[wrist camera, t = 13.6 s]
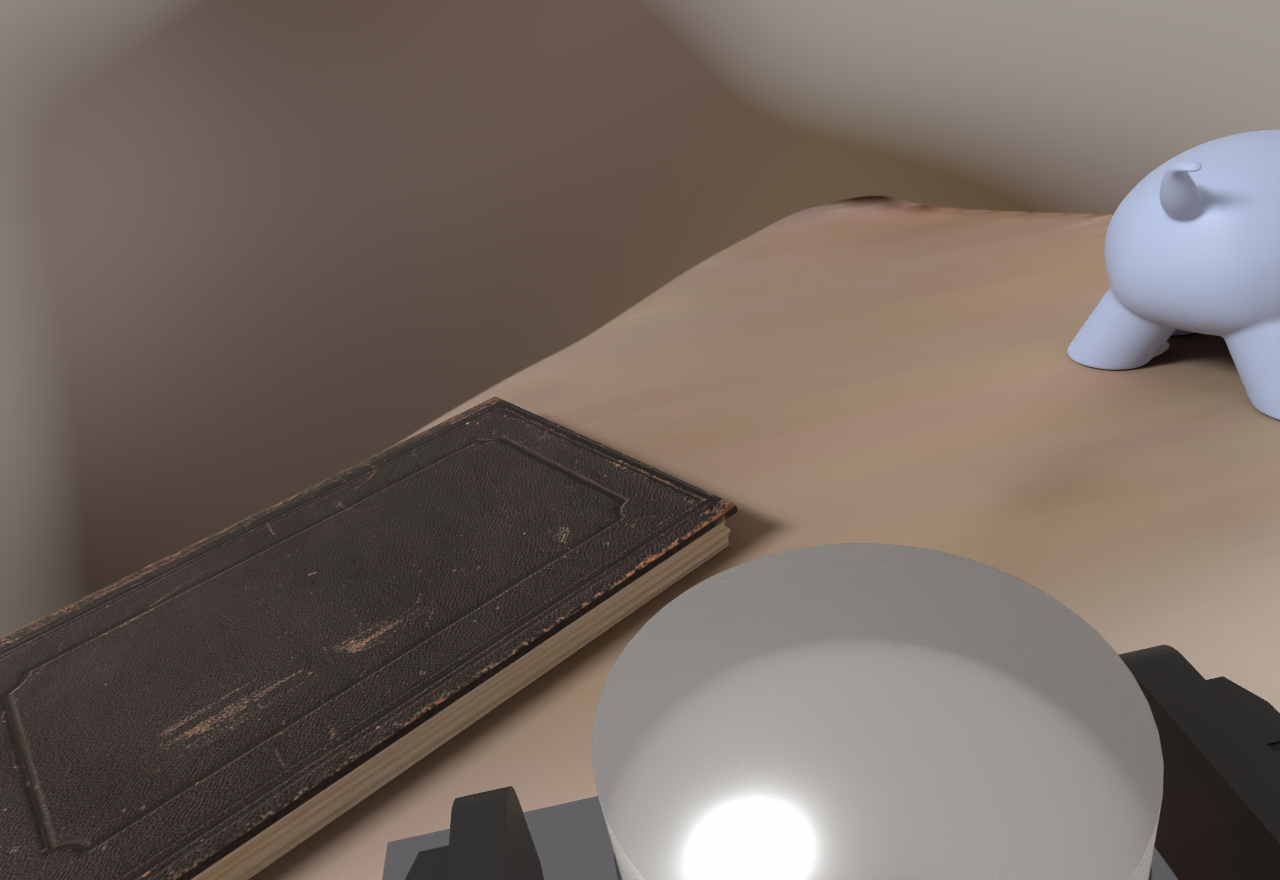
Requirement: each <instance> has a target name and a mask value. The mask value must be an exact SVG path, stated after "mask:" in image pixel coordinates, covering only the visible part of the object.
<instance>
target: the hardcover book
mask: <svg viewBox="0 0 1280 880" xmlns="http://www.w3.org/2000/svg"><path fill="white" fill-rule="evenodd" d="M736 512H737V507H736V505H734V504H732V503H730V502H728V501H725V500H723V499H721V498H719V497H717V496H714V495H712V494H710V493H708V492H705V491H703V490H701V489H699V488H697V487H694V486H692V485H690V484H688V483H686V482H683V481H681V480H679V479H677V478H675V477H672V476H670V475H668V474H666V473H663V472H661V471H659V470H657V469H655V468H652V467H650V466H648V465H646V464H644V463H641V462H639V461H637V460H635V459H633V458H630V457H628V456H626V455H624V454H621V453H619V452H617V451H615V450H613V449H610V448H608V447H606V446H604V445H602V444H599V443H597V442H595V441H593V440H591V439H588V438H586V437H584V436H582V435H580V434H577V433H575V432H573V431H571V430H568V429H566V428H564V427H562V426H560V425H557V424H555V423H553V422H551V421H549V420H546V419H544V418H542V417H540V416H538V415H535V414H533V413H531V412H529V411H526V410H524V409H522V408H520V407H518V406H515V405H513V404H511V403H509V402H507V401H504V400H502V399H500V398H498V397H493V398H491V399H489V400H487V401H485V402H483V403H481V404H479V405H477V406H475V407H473V408H471V409H469V410H467V411H465V412H463V413H461V414H459V415H457V416H455V417H453V418H450V419H448V420H446V421H444V422H442V423H440V424H438V425H436V426H434V427H432V428H430V429H428V430H426V431H424V432H422V433H420V434H418V435H416V436H414V437H412V438H410V439H407V440H405V441H403V442H401V443H399V444H397V445H395V446H393V447H391V448H389V449H387V450H385V451H383V452H381V453H379V454H377V455H375V456H373V457H371V458H369V459H367V460H364V461H362V462H360V463H358V464H356V465H354V466H352V467H350V468H348V469H346V470H344V471H342V472H340V473H338V474H336V475H334V476H332V477H330V478H328V479H326V480H324V481H321V482H319V483H317V484H316V485H314V486H311V487H309V488H307V489H305V490H303V491H301V492H299V493H297V494H295V495H293V496H291V497H289V498H287V499H285V500H283V501H281V502H279V503H276V504H274V505H272V506H271V507H268V508H266V509H264V510H262V511H260V512H258V513H256V514H254V515H252V516H250V517H248V518H246V519H244V520H242V521H240V522H238V523H235V524H233V525H231V526H229V527H227V528H225V529H223V530H221V531H219V532H217V533H215V534H213V535H211V536H209V537H207V538H205V539H203V540H201V541H199V542H197V543H195V544H192V545H190V546H188V547H186V548H184V549H182V550H180V551H178V552H176V553H174V554H172V555H170V556H168V557H166V558H164V559H162V560H160V561H158V562H156V563H154V564H152V565H150V566H148V567H145V568H143V569H142V570H140V571H137V572H135V573H133V574H131V575H129V576H127V577H125V578H123V579H121V580H119V581H117V582H115V583H113V584H111V585H109V586H106V587H104V588H102V589H100V590H98V591H96V592H94V593H92V594H90V595H88V596H86V597H84V598H82V599H80V600H78V601H76V602H74V603H72V604H70V605H68V606H66V607H63V608H61V609H60V610H57V611H55V612H53V613H51V614H49V615H47V616H45V617H43V618H41V619H39V620H37V621H35V622H33V623H31V624H29V625H27V626H25V627H23V628H21V629H18V630H16V631H14V632H12V633H10V634H8V635H6V636H4V637H2V638H0V880H248V879H250V878H251V877H253V876H254V875H256V874H257V873H259V872H260V871H261V870H263V869H264V868H266V867H267V866H269V865H270V864H271V863H273V862H274V861H276V860H277V859H279V858H280V857H282V856H283V855H284V854H286V853H287V852H289V851H290V850H292V849H293V848H294V847H296V846H297V845H299V844H300V843H302V842H303V841H304V840H306V839H307V838H309V837H310V836H312V835H313V834H315V833H316V832H317V831H319V830H320V829H322V828H323V827H325V826H326V825H327V824H329V823H330V822H332V821H333V820H335V819H336V818H338V817H339V816H340V815H342V814H343V813H345V812H346V811H348V810H349V809H350V808H352V807H353V806H355V805H356V804H358V803H359V802H361V801H362V800H363V799H365V798H366V797H368V796H369V795H371V794H372V793H373V792H375V791H376V790H378V789H379V788H381V787H382V786H384V785H385V784H386V783H388V782H389V781H391V780H392V779H394V778H395V777H396V776H398V775H399V774H401V773H402V772H404V771H405V770H406V769H408V768H409V767H411V766H412V765H414V764H415V763H417V762H418V761H419V760H421V759H422V758H424V757H425V756H427V755H428V754H429V753H431V752H432V751H434V750H435V749H437V748H438V747H440V746H441V745H442V744H444V743H445V742H447V741H448V740H450V739H451V738H452V737H454V736H455V735H457V734H458V733H460V732H461V731H463V730H464V729H465V728H467V727H468V726H470V725H471V724H473V723H474V722H475V721H477V720H478V719H480V718H481V717H483V716H484V715H486V714H487V713H488V712H490V711H491V710H493V709H494V708H496V707H497V706H498V705H500V704H501V703H503V702H504V701H506V700H507V699H508V698H510V697H511V696H513V695H514V694H516V693H517V692H519V691H520V690H521V689H523V688H524V687H526V686H527V685H529V684H530V683H531V682H533V681H534V680H536V679H537V678H539V677H540V676H542V675H543V674H544V673H546V672H547V671H549V670H550V669H552V668H553V667H554V666H556V665H557V664H559V663H560V662H562V661H563V660H565V659H566V658H567V657H569V656H570V655H572V654H573V653H575V652H576V651H577V650H579V649H580V648H582V647H583V646H585V645H586V644H588V643H589V642H590V641H592V640H593V639H595V638H596V637H598V636H599V635H600V634H602V633H603V632H605V631H606V630H608V629H609V628H610V627H612V626H613V625H615V624H616V623H618V622H619V621H621V620H622V619H623V618H625V617H626V616H628V615H629V614H631V613H632V612H633V611H635V610H636V609H638V608H639V607H641V606H642V605H644V604H645V603H646V602H648V601H649V600H651V599H652V598H654V597H655V596H656V595H658V594H659V593H661V592H662V591H664V590H665V589H667V588H668V587H669V586H671V585H672V584H674V583H675V582H677V581H678V580H679V579H681V578H682V577H684V576H685V575H687V574H688V573H690V572H691V571H692V570H694V569H695V568H697V567H698V566H700V565H701V564H702V563H704V562H705V561H707V560H708V559H710V558H711V557H712V556H714V555H715V554H717V553H718V552H720V551H721V550H723V549H724V548H725V547H727V546H728V545H729V544H730V542H729V541H728V536H729V534H730V531H731V530H730V529H729V528H728V527H727V526H725V525H724V523H725V522H726V519H727V518H729V517H730V516H732V515H733V514H735V513H736Z"/></svg>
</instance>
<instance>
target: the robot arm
mask: <svg viewBox="0 0 1280 880" xmlns="http://www.w3.org/2000/svg"><path fill="white" fill-rule="evenodd" d="M1119 657H1120V658H1121V659H1122V661H1123V662H1124V663H1125V665H1126V666H1127V667H1128V669H1129V670H1130V671H1131V673H1132V674H1133V675H1134V677H1135V679H1136V681H1137V683H1138V685H1139V686H1140V688H1141V690H1142V692H1143V694H1144V696H1145V698H1146V700H1147V701H1148V703H1149V706H1150V709H1151V712H1152V715H1153V718H1154V721H1155V723H1156V726H1157V729H1158V732H1159V738H1160V744H1161V750H1162V756H1163V762H1164V771H1163V797H1162V803H1161V809H1160V815H1159V821H1158V827H1157V832H1156V838H1155V844H1154V847H1155V848H1156V849H1157V851H1158V852H1159V853H1160V855H1161V856H1162V858H1163V859H1164V860H1165V862H1166V863H1167V865H1168V866H1169V867H1170V869H1171V870H1172V872H1173V873H1174V874H1175V876H1176V877H1177V879H1178V880H1280V713H1279V712H1278V711H1277V710H1276V709H1275V708H1274V707H1273V706H1272V705H1271V704H1270V703H1269V702H1267V701H1265V700H1264V699H1262V698H1260V697H1258V696H1257V695H1255V694H1253V693H1251V692H1250V691H1248V690H1246V689H1244V688H1242V687H1241V686H1239V685H1237V684H1235V683H1234V682H1232V681H1230V680H1228V679H1227V678H1225V677H1218V678H1214V679H1209V680H1205V679H1204V678H1203V677H1202V676H1201V675H1200V674H1199V672H1198V671H1197V670H1196V669H1195V668H1194V667H1193V666H1192V665H1191V664H1190V663H1189V662H1188V661H1187V660H1186V659H1185V658H1184V657H1183V656H1182V655H1181V654H1180V653H1179V652H1178V651H1177V650H1175V649H1174V648H1172V647H1170V646H1167V645H1160V646H1156V647H1151V648H1147V649H1142V650H1138V651H1133V652H1129V653H1124V654H1120V655H1119ZM405 880H544V876H543V871H542V867H541V863H540V860H539V857H538V854H537V851H536V848H535V845H534V842H533V840H532V837H531V834H530V831H529V828H528V825H527V823H526V820H525V817H524V814H523V811H522V808H521V806H520V803H519V800H518V797H517V795H516V792H515V790H514V788H513V787H512V786H510V787H505V788H500V789H496V790H491V791H487V792H482V793H478V794H473V795H469V796H464V797H460V798H456V799H455V800H454V802H453V806H452V813H451V825H450V837H449V845H447V846H443V847H438V848H434V849H429V850H425V851H420V852H419V853H418V855H417V857H416V859H415V861H414V863H413V865H412V867H411V869H410V870H409V872H408V874H407V876H406V878H405Z"/></svg>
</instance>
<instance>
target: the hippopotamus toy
mask: <svg viewBox="0 0 1280 880" xmlns="http://www.w3.org/2000/svg"><path fill="white" fill-rule="evenodd" d="M1104 253H1105V265H1106V270H1107V275H1108V278H1109V283H1110V287H1109V289H1108V291H1107V293H1106V294H1105V295H1104V297H1103V298H1102V299H1101V301H1100V302H1099V304H1098V305H1097V306H1096V308H1095V309H1094V311H1093V312H1092V314H1091V315H1090V316H1089V318H1088V319H1087V321H1086V322H1085V324H1084V325H1083V326H1082V328H1081V329H1080V331H1079V332H1078V334H1077V335H1076V336H1075V338H1074V339H1073V341H1072V342H1071V344H1070V345H1069V347H1068V350H1067V352H1068V355H1069V357H1070V358H1071V359H1072V360H1074V361H1075V362H1077V363H1080V364H1082V365H1085V366H1089V367H1093V368H1098V369H1107V370H1123V369H1132V368H1137V367H1140V366H1143V365H1145V364H1147V363H1148V362H1149V361H1150V360H1151V359H1152V358H1153V357H1156V356H1158V355H1160V354H1162V353H1163V352H1165V351H1166V350H1167V349H1168V348H1169V343H1168V342H1167V340H1168V339H1169V337H1170V336H1171V335H1187V334H1192V333H1202V334H1209V335H1217V336H1221V337H1222V338H1223V339H1224V340H1225V342H1226V344H1227V346H1228V349H1229V351H1230V354H1231V356H1232V359H1233V361H1234V363H1235V366H1236V368H1237V371H1238V373H1239V375H1240V378H1241V380H1242V383H1243V385H1244V388H1245V390H1246V392H1247V395H1248V397H1249V399H1250V401H1251V403H1252V404H1253V406H1254V407H1255V408H1256V409H1258V410H1259V411H1260V412H1262V413H1264V414H1266V415H1268V416H1270V417H1272V418H1275V419H1277V420H1280V130H1263V131H1253V132H1247V133H1241V134H1235V135H1231V136H1227V137H1223V138H1219V139H1216V140H1213V141H1210V142H1207V143H1204V144H1201V145H1199V146H1196V147H1194V148H1192V149H1190V150H1188V151H1185V152H1183V153H1181V154H1180V155H1178V156H1176V157H1174V158H1172V159H1170V160H1169V161H1167V162H1165V163H1164V164H1163V165H1161V166H1160V167H1158V168H1157V169H1156V170H1154V171H1153V172H1151V173H1150V174H1149V175H1147V176H1146V177H1145V178H1144V179H1143V180H1142V181H1141V182H1140V183H1138V184H1137V185H1136V186H1135V187H1134V188H1133V189H1132V191H1131V192H1130V193H1129V194H1128V195H1127V196H1126V198H1125V199H1124V200H1123V201H1122V203H1121V204H1120V206H1119V207H1118V208H1117V210H1116V212H1115V213H1114V215H1113V217H1112V219H1111V222H1110V224H1109V227H1108V230H1107V234H1106V239H1105V250H1104Z"/></svg>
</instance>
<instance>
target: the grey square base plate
mask: <svg viewBox="0 0 1280 880" xmlns="http://www.w3.org/2000/svg"><path fill="white" fill-rule="evenodd" d="M523 814H524V817H525V820H526V823H527V825H528V828H529V831H530V834H531V837H532V840H533V842H534V845H535V848H536V851H537V854H538V857H539V860H540V863H541V867H542V871H543V876H544V880H618V878H617V873H616V867H615V862H614V850H613V846H612V843H611V839H610V836H609V832H608V829H607V825H606V822H605V818H604V815H603V811H602V808H601V804H600V801H599V797H598V796H597V797H592V798H587V799H583V800H578V801H574V802H569V803H565V804H560V805H556V806H551V807H547V808H542V809H538V810H533V811H529V812H524V813H523ZM449 837H450V829H447V830H443V831H438V832H433V833H429V834H424V835H420V836H415V837H411V838H406V839H402V840H397V841H393V842H388V845H387V852H386V858H385V865H384V872H383V879H382V880H405V878H406V876H407V874H408V872H409V870H410V869H411V867H412V865H413V863H414V861H415V859H416V857H417V855H418V853H419V852H420V851H425V850H429V849H434V848H438V847H443V846H447V845H449ZM1151 867H1152V880H1178V879H1177V877H1176V876H1175V874H1174V873H1173V872H1172V870H1171V869H1170V867H1169V866H1168V865H1167V863H1166V862H1165V860H1164V859H1163V858H1162V856H1161V855H1160V853H1159V852H1158V851H1157V849H1156V848H1155V847H1154V850H1153V856H1152V861H1151Z"/></svg>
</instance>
